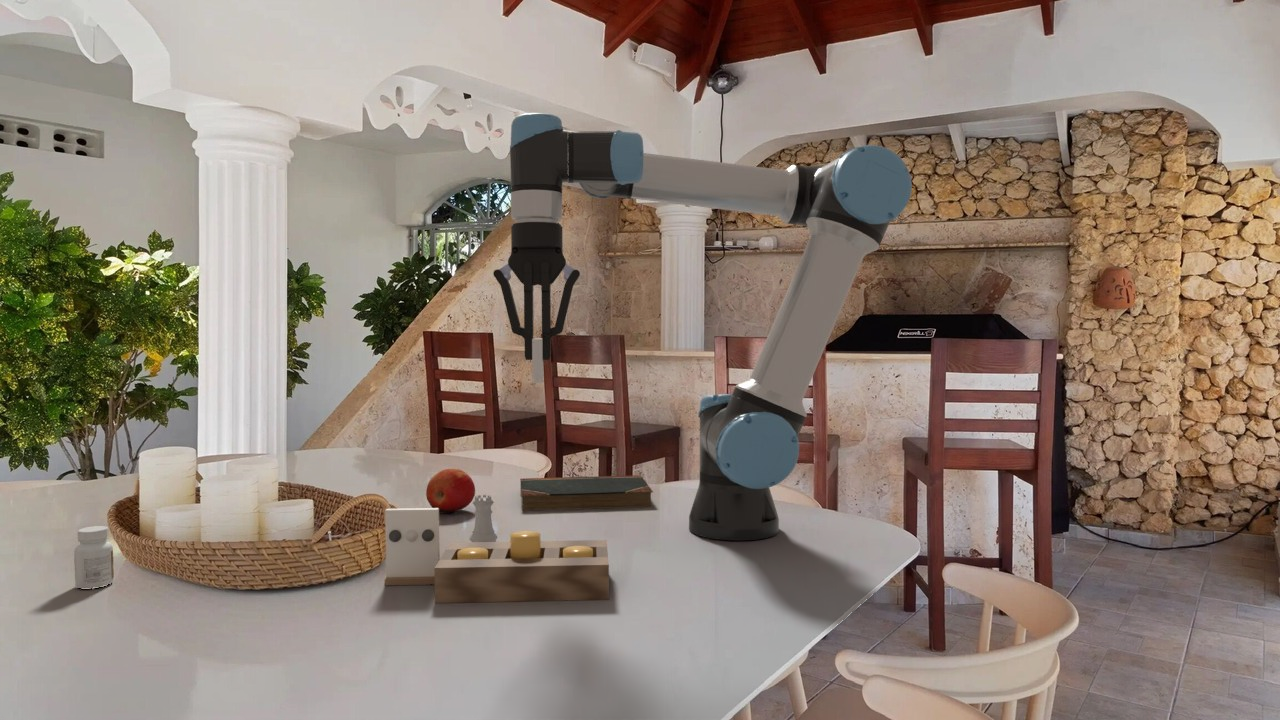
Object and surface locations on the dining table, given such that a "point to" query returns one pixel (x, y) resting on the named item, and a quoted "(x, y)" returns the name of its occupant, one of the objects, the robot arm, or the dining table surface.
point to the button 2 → (577, 552)
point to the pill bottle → (93, 558)
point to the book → (585, 492)
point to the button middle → (525, 545)
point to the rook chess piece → (483, 520)
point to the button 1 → (472, 553)
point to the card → (411, 545)
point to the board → (522, 574)
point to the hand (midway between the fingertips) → (538, 382)
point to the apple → (450, 490)
